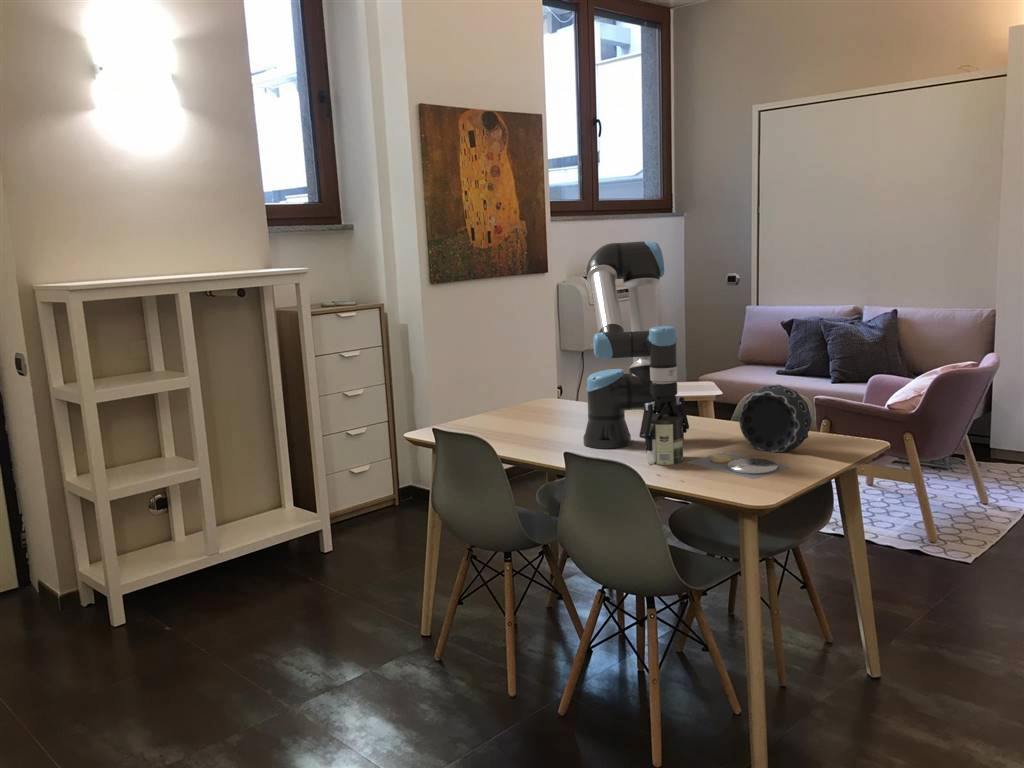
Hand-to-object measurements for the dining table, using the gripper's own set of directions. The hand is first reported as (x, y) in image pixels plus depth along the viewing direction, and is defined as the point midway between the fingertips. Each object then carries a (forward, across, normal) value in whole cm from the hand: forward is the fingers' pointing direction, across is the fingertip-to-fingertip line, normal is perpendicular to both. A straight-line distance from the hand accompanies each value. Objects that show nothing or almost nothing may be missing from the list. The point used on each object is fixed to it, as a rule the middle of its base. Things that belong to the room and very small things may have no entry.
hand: (665, 457), depth 251 cm
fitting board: (+2, +10, -18) cm, 21 cm away
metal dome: (+1, +10, -23) cm, 25 cm away
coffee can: (+2, 0, 0) cm, 2 cm away
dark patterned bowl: (+2, +32, -13) cm, 35 cm away
